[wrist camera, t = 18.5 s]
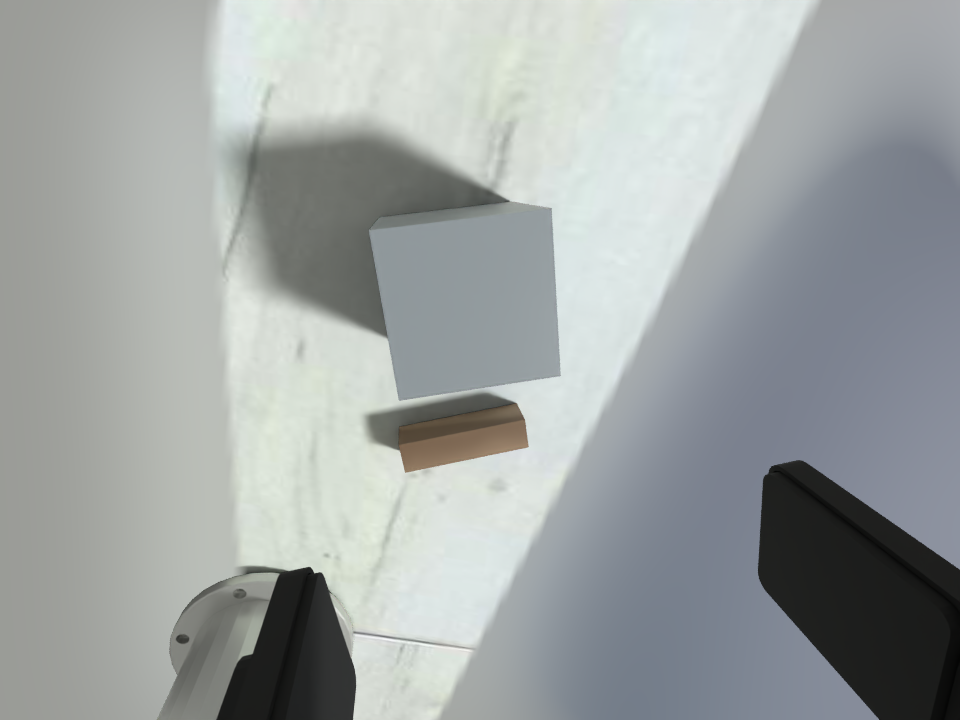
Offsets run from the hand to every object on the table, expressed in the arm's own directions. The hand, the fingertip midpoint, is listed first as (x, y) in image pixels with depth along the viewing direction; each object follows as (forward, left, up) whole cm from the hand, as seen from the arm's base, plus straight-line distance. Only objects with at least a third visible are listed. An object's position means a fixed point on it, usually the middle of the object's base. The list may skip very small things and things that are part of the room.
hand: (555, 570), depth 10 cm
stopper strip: (-8, +1, -22) cm, 24 cm away
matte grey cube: (+2, 0, -22) cm, 22 cm away
